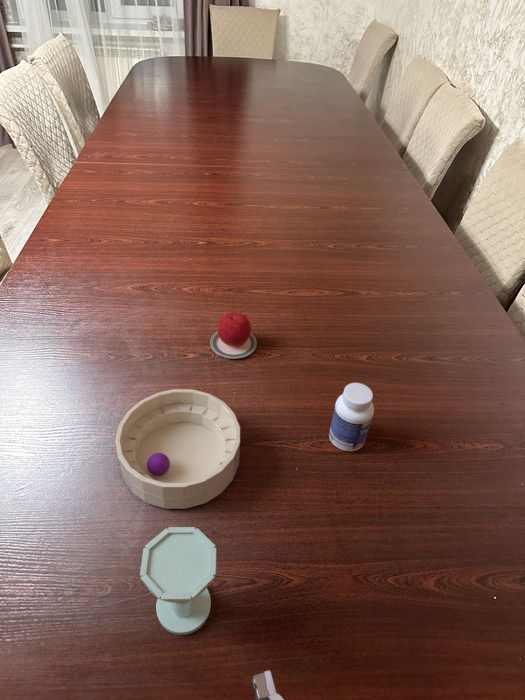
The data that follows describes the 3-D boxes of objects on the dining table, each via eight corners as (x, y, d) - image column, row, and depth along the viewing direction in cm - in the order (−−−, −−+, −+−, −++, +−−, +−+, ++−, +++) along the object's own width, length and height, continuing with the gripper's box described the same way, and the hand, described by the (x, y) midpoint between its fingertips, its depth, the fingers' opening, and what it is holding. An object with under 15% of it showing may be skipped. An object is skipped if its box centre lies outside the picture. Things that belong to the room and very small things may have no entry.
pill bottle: (360, 457, 75) (374, 413, 68) (324, 445, 76) (334, 400, 69) (368, 430, 78) (381, 385, 72) (333, 419, 80) (344, 374, 73)
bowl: (111, 510, 66) (104, 486, 62) (131, 413, 78) (126, 387, 74) (238, 511, 67) (239, 487, 63) (239, 414, 79) (240, 390, 75)
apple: (202, 352, 89) (201, 322, 84) (222, 325, 94) (222, 296, 90) (245, 366, 87) (246, 336, 83) (263, 337, 93) (265, 308, 88)
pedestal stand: (147, 642, 55) (136, 599, 48) (155, 574, 61) (146, 527, 53) (215, 640, 56) (214, 598, 48) (217, 574, 61) (217, 526, 54)
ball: (144, 451, 69) (147, 466, 71) (147, 468, 67) (150, 483, 69) (166, 445, 70) (168, 460, 72) (170, 462, 68) (172, 477, 70)
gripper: (419, 881, 31) (332, 640, 41) (58, 1046, 26) (56, 725, 36) (394, 886, 35) (320, 666, 45) (80, 1028, 30) (72, 745, 40)
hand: (201, 692), depth 40 cm, fingers open, 8 cm apart
